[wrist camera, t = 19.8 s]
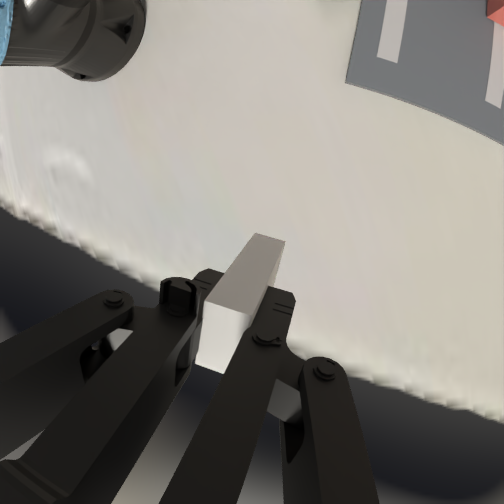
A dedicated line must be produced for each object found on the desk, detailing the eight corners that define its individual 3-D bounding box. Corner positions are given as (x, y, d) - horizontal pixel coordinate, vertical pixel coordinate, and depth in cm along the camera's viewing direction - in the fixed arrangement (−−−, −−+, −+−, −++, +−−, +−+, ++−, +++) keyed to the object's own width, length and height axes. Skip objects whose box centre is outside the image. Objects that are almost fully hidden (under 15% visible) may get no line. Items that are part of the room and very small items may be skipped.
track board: (505, 146, 29) (516, 148, 27) (345, 83, 32) (346, 79, 30) (520, -4, 19) (530, -10, 17) (372, -67, 23) (374, -78, 20)
